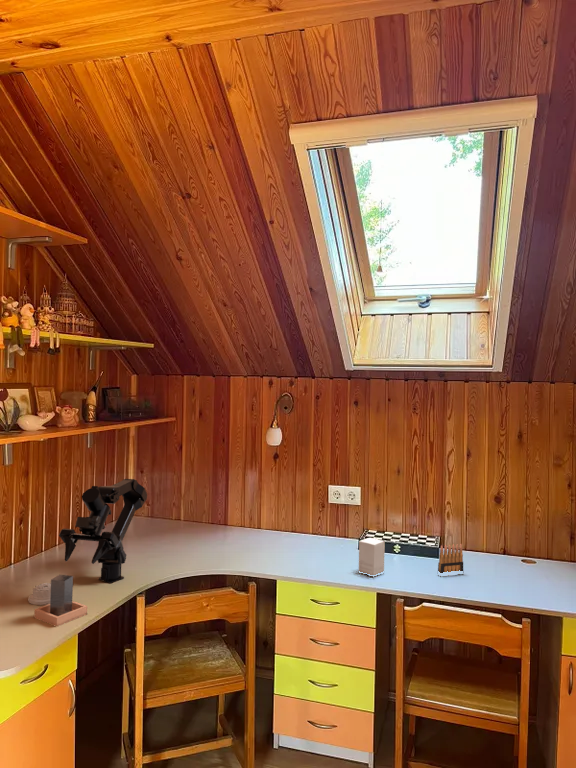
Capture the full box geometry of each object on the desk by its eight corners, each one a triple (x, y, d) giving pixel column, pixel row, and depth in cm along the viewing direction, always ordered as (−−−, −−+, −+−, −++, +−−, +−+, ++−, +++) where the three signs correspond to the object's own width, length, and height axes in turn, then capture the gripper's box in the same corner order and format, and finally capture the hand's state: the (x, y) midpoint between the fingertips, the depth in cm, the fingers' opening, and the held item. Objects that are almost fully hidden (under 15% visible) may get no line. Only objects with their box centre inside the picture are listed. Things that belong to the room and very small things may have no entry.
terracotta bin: (64, 606, 176) (65, 598, 176) (87, 614, 170) (87, 606, 170) (34, 617, 167) (34, 609, 167) (56, 626, 161) (57, 618, 161)
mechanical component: (25, 597, 182) (31, 608, 174) (25, 584, 182) (32, 594, 174) (57, 591, 188) (65, 601, 180) (58, 578, 188) (65, 588, 180)
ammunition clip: (460, 573, 219) (461, 542, 219) (463, 574, 217) (464, 544, 217) (437, 575, 216) (438, 544, 215) (440, 577, 214) (441, 545, 214)
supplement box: (384, 573, 216) (385, 541, 216) (373, 578, 210) (374, 544, 210) (369, 568, 221) (370, 537, 221) (357, 573, 216) (358, 540, 216)
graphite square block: (58, 610, 171) (59, 574, 171) (71, 611, 170) (73, 575, 170) (49, 616, 167) (51, 579, 167) (63, 617, 166) (64, 580, 166)
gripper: (62, 504, 184) (42, 547, 173) (115, 507, 181) (98, 551, 171) (74, 522, 192) (55, 564, 181) (125, 525, 189) (109, 568, 178)
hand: (79, 562), depth 178 cm, fingers open, 9 cm apart
